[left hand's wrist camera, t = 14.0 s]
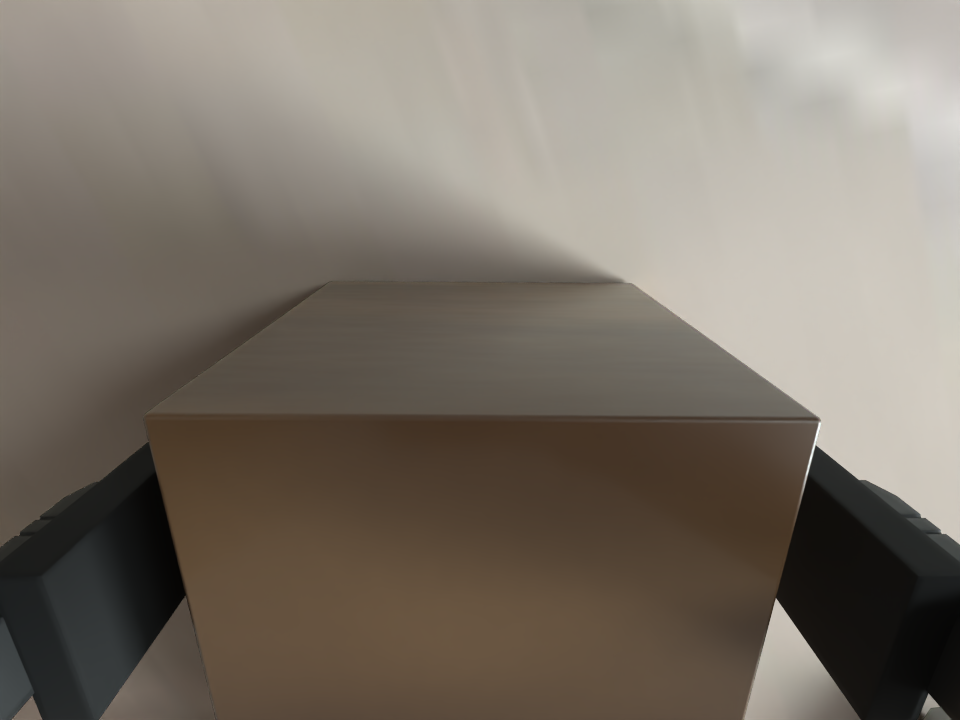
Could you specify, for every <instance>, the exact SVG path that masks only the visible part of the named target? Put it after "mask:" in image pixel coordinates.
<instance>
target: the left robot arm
mask: <svg viewBox="0 0 960 720" xmlns="http://www.w3.org/2000/svg"><path fill="white" fill-rule="evenodd" d="M920 515H921V514H919V513H918V512H917V511H915V510H914V509H913V508H912V507H910V506H909V505H908V504H906V503H905V502H904V501H902V500H901V499H900V498H899V497H897V496H896V495H894V494H892V493H890V492H888V491H886V490H884V489H882V488H880V487H878V486H876V485H874V484H872V483H870V482H868V481H866V480H858V479H857V478H856V477H854V476H853V475H852V474H851V473H849V472H848V471H847V470H846V469H844V468H843V467H842V466H841V465H839V464H838V463H837V462H836V461H835V460H833V459H832V458H831V457H830V456H828V455H827V454H826V453H825V452H823V451H822V450H821V449H820V448H818V447H817V446H815V449H814V453H813V457H812V461H811V465H810V469H809V472H808V476H807V480H806V484H805V488H804V492H803V495H802V499H801V503H800V507H799V511H798V515H797V518H796V522H795V526H794V530H793V534H792V537H791V541H790V545H789V549H788V553H787V557H786V560H785V564H784V568H783V572H782V576H781V580H780V583H779V587H778V591H777V595H776V598H777V600H778V601H779V603H780V604H781V606H782V607H783V608H784V610H785V611H786V613H787V614H788V616H789V617H790V618H791V620H792V621H793V623H794V624H795V626H796V627H797V629H798V630H799V631H800V633H801V634H802V636H803V637H804V639H805V640H806V641H807V643H808V644H809V646H810V647H811V649H812V650H813V651H814V653H815V654H816V656H817V657H818V659H819V660H820V661H821V663H822V664H823V666H824V667H825V669H826V670H827V671H828V673H829V674H830V676H831V677H832V679H833V680H834V682H835V683H836V684H837V686H838V687H839V689H840V690H841V692H842V693H843V694H844V696H845V697H846V699H847V700H848V702H849V703H850V704H851V706H852V707H853V709H854V710H855V712H856V713H857V714H858V716H859V717H860V719H861V720H917V719H918V717H919V715H920V712H921V710H922V707H923V705H924V703H925V700H926V698H927V695H928V693H929V694H930V695H931V697H932V698H933V699H934V700H935V701H936V702H937V703H938V705H939V706H940V707H941V708H942V709H943V710H944V712H945V713H946V714H947V715H948V716H949V717H950V718H949V720H960V545H959V544H958V543H957V542H956V541H954V540H953V539H952V538H950V537H949V536H948V535H946V534H941V530H940V529H939V528H937V527H936V526H935V525H934V524H932V523H931V522H930V521H928V520H927V519H926V518H921V516H920ZM185 596H186V594H185V589H184V585H183V581H182V577H181V573H180V569H179V565H178V561H177V556H176V552H175V548H174V544H173V540H172V536H171V532H170V527H169V523H168V519H167V515H166V511H165V507H164V503H163V499H162V494H161V490H160V486H159V482H158V478H157V474H156V470H155V465H154V461H153V457H152V453H151V449H150V445H149V442H148V443H146V444H145V445H144V446H143V447H142V448H140V449H139V450H138V451H137V452H135V453H134V454H133V455H132V456H130V457H129V458H128V459H127V460H125V461H124V462H123V463H122V464H121V465H119V466H118V467H117V468H116V469H114V470H113V471H112V472H111V473H109V474H108V475H107V476H106V477H104V478H103V479H102V480H101V481H99V482H94V483H92V484H90V485H88V486H86V487H84V488H82V489H80V490H78V491H76V492H74V493H72V494H71V495H69V496H67V497H65V498H63V499H62V500H61V501H59V502H58V503H57V504H55V505H54V506H53V507H52V508H50V509H49V510H48V511H46V512H45V513H44V514H43V515H41V516H40V520H35V521H34V522H32V523H31V524H30V525H28V526H27V527H26V528H25V529H23V530H22V531H21V532H20V535H19V536H14V537H13V538H12V539H11V540H9V541H8V542H7V543H5V544H4V545H3V546H2V547H0V720H11V719H12V718H13V717H14V716H15V715H16V714H17V712H18V711H19V710H20V709H21V708H22V707H23V705H24V704H25V703H26V702H27V701H28V700H29V698H30V697H31V696H32V695H33V698H34V700H35V703H36V705H37V707H38V710H39V712H40V715H41V717H42V719H43V720H99V719H100V717H101V716H102V714H103V713H104V712H105V710H106V709H107V707H108V706H109V704H110V703H111V702H112V700H113V699H114V697H115V696H116V694H117V693H118V692H119V690H120V689H121V687H122V686H123V684H124V683H125V681H126V680H127V679H128V677H129V676H130V674H131V673H132V671H133V670H134V669H135V667H136V666H137V664H138V663H139V661H140V660H141V659H142V657H143V656H144V654H145V653H146V651H147V650H148V649H149V647H150V646H151V644H152V643H153V641H154V640H155V639H156V637H157V636H158V634H159V633H160V631H161V630H162V629H163V627H164V626H165V624H166V623H167V621H168V620H169V618H170V617H171V616H172V614H173V613H174V611H175V610H176V608H177V607H178V606H179V604H180V603H181V601H182V600H183V598H184V597H185Z"/></svg>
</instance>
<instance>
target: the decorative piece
mask: <svg viewBox="0 0 960 720" xmlns="http://www.w3.org/2000/svg"><path fill="white" fill-rule="evenodd" d="M949 718H950V717H949V716H948V715H947V714H946V713H945V712H944V710H943V709H942V708H941V707H937V708H931V709H930V710H929V712H928V713H927V715H926V716H925V717H924V719H923V720H949Z"/></svg>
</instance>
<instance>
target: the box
mask: <svg viewBox="0 0 960 720" xmlns="http://www.w3.org/2000/svg"><path fill="white" fill-rule="evenodd" d="M143 420H144V424H145V428H146V432H147V437H148V441H149V445H150V449H151V453H152V457H153V461H154V465H155V470H156V474H157V478H158V482H159V486H160V490H161V494H162V499H163V503H164V507H165V511H166V515H167V519H168V523H169V527H170V532H171V536H172V540H173V544H174V548H175V552H176V556H177V561H178V565H179V569H180V573H181V577H182V581H183V585H184V589H185V594H186V598H187V602H188V606H189V610H190V614H191V618H192V622H193V627H194V631H195V635H196V639H197V643H198V647H199V651H200V656H201V660H202V664H203V668H204V672H205V676H206V680H207V684H208V689H209V693H210V697H211V701H212V705H213V709H214V713H215V718H216V720H744V717H745V713H746V710H747V706H748V702H749V698H750V694H751V690H752V687H753V683H754V679H755V675H756V671H757V667H758V664H759V660H760V656H761V652H762V648H763V645H764V641H765V637H766V633H767V629H768V625H769V622H770V618H771V614H772V610H773V606H774V602H775V599H776V595H777V591H778V587H779V583H780V580H781V576H782V572H783V568H784V564H785V560H786V557H787V553H788V549H789V545H790V541H791V537H792V534H793V530H794V526H795V522H796V518H797V515H798V511H799V507H800V503H801V499H802V495H803V492H804V488H805V484H806V480H807V476H808V472H809V469H810V465H811V461H812V457H813V453H814V449H815V446H816V442H817V438H818V434H819V430H820V427H821V420H820V418H819V417H818V416H816V415H815V414H813V413H812V412H811V411H809V410H808V409H806V408H805V407H804V406H802V405H801V404H799V403H798V402H797V401H795V400H794V399H792V398H791V397H790V396H788V395H787V394H785V393H784V392H783V391H781V390H780V389H778V388H777V387H776V386H774V385H773V384H772V383H770V382H769V381H767V380H766V379H765V378H763V377H762V376H760V375H759V374H758V373H756V372H755V371H753V370H752V369H751V368H749V367H748V366H746V365H745V364H744V363H742V362H741V361H739V360H738V359H737V358H735V357H734V356H733V355H731V354H730V353H728V352H727V351H726V350H724V349H723V348H721V347H720V346H719V345H717V344H716V343H714V342H713V341H712V340H710V339H709V338H707V337H706V336H705V335H703V334H702V333H700V332H699V331H698V330H696V329H695V328H693V327H692V326H691V325H689V324H688V323H687V322H685V321H684V320H682V319H681V318H680V317H678V316H677V315H675V314H674V313H673V312H671V311H670V310H668V309H667V308H666V307H664V306H663V305H661V304H660V303H659V302H657V301H656V300H654V299H653V298H652V297H650V296H649V295H648V294H646V293H645V292H643V291H642V290H641V289H639V288H638V287H636V286H635V285H634V284H632V283H509V282H365V281H331V282H329V283H328V284H326V285H325V286H323V287H322V288H321V289H319V290H318V291H316V292H315V293H314V294H312V295H311V296H309V297H308V298H307V299H305V300H304V301H302V302H301V303H300V304H298V305H297V306H295V307H294V308H292V309H291V310H290V311H288V312H287V313H285V314H284V315H283V316H281V317H280V318H278V319H277V320H276V321H274V322H273V323H271V324H270V325H269V326H267V327H266V328H264V329H263V330H262V331H260V332H259V333H257V334H256V335H255V336H253V337H252V338H250V339H249V340H248V341H246V342H245V343H243V344H242V345H241V346H239V347H238V348H236V349H235V350H234V351H232V352H231V353H229V354H228V355H227V356H225V357H224V358H222V359H221V360H220V361H218V362H217V363H215V364H214V365H213V366H211V367H210V368H208V369H207V370H205V371H204V372H203V373H201V374H200V375H198V376H197V377H196V378H194V379H193V380H191V381H190V382H189V383H187V384H186V385H184V386H183V387H182V388H180V389H179V390H177V391H176V392H175V393H173V394H172V395H170V396H169V397H168V398H166V399H165V400H163V401H162V402H161V403H159V404H158V405H156V406H155V407H154V408H152V409H151V410H149V411H148V412H147V413H145V415H144V419H143Z"/></svg>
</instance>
